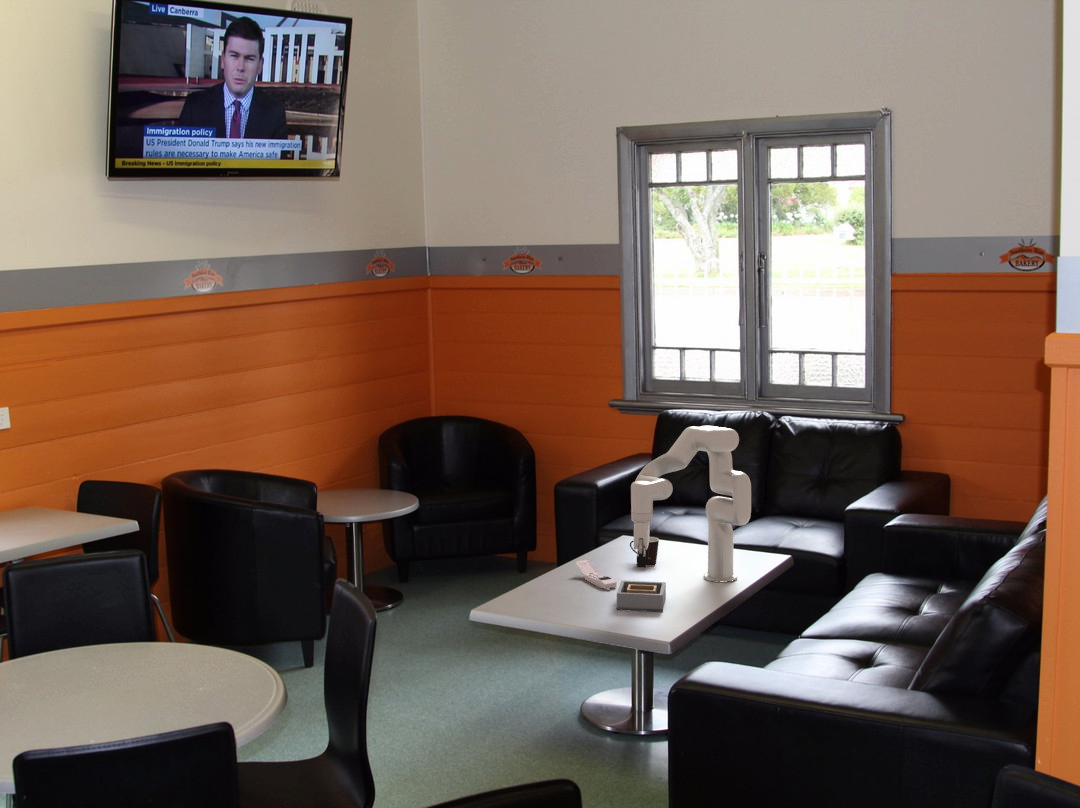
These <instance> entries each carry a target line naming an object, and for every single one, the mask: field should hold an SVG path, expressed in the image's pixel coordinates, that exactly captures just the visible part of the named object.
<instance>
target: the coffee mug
mask: <svg viewBox="0 0 1080 808" xmlns="http://www.w3.org/2000/svg"><path fill="white" fill-rule="evenodd" d="M659 541H660V539H659V538H658V537H655V536H649V545H648V548H647V549H648V560H646V565H653V566H656V565H657V558H658V551H659ZM632 543H634V540H631V541H630V542H629V547H630V548H631V549H630V550H632V551H633V553H635V554H636V555H637V550H636V549H635V550H634V547H632V545H633V544H632ZM655 564H656V565H655Z"/></svg>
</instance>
